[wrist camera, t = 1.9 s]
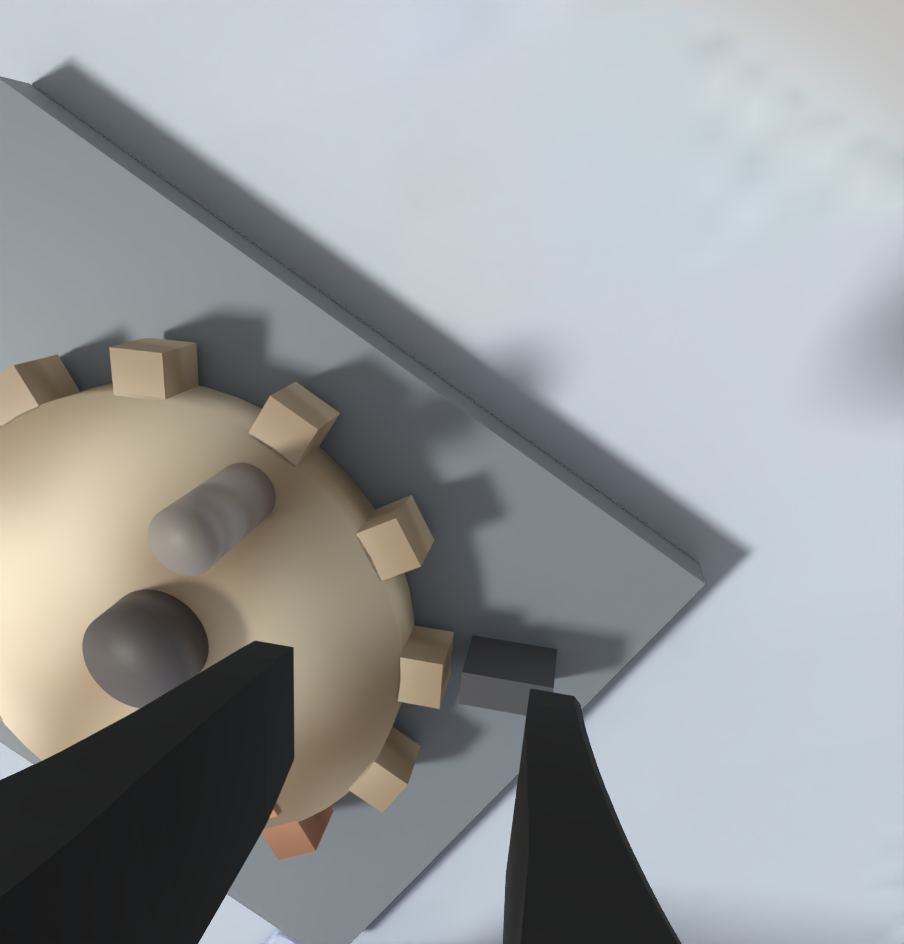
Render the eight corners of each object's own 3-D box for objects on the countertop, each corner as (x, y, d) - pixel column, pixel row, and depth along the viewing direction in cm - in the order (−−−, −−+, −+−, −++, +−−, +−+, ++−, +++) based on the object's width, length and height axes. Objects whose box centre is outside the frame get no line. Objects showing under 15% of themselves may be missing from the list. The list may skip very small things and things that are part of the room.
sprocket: (570, 576, 19) (562, 679, 15) (285, 899, 25) (221, 1039, 21) (57, 212, 18) (-108, 209, 14) (-108, 633, 24) (-258, 722, 20)
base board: (698, 563, 20) (716, 620, 17) (341, 933, 27) (312, 1014, 24) (29, 83, 19) (-69, 59, 16) (-151, 601, 26) (-240, 646, 23)
